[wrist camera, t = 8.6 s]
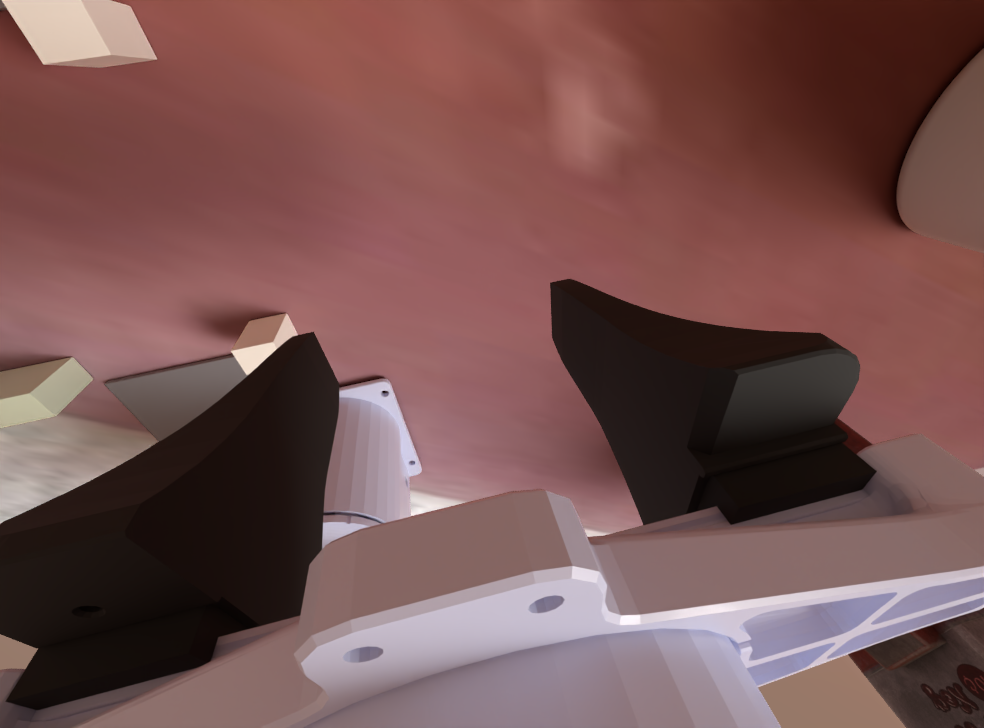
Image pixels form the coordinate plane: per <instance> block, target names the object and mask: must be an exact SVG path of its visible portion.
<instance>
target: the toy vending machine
mask: <svg viewBox="0 0 984 728" xmlns="http://www.w3.org/2000/svg"><path fill="white" fill-rule="evenodd" d="M834 423H835V424H836V425H838V426H839V427H840V428H841V429H843V430H844V431H845V432H846V433H847V435H848V439H847V440H846V441H845V442H842V443H843V444H845V445H846V446H847V447H848V448H849V449H851V450H852V451H853V452H854V453H855V454H857V453H858V452H859V451H861V450H863V449H864V448H866V447H868V446H870V445H873V444H871V443H870V442H869V441H867V440H866V439H865V438H863V437H862V436H861V435H859V434H858V433H857V432H855V431H854V430H853V429H851V428H850V427H849V426H847V425H846V424H845V423H843V422H842V421H841V420H840V419H838V418H837V419H836V421H835V422H834ZM848 655H849V656H850V658H851V659H852V660H853V661H854V663H855V664H856V665H857V666H858V668H859V669H860V670H861V671H862V673H863V674H864V675H865V676H866V678H867V679H868V680H869V681H870V683H871V684H872V685H873V686H874V688H875V689H876V690H877V692H878V693H879V694H880V695H881V697H882V698H883V699H884V700H885V702H886V703H887V704H888V705H889V707H890V708H891V709H892V710H893V712H895V714H896V715H897V717H898V718H899V719H900V720H901V721H902V723H903V724H904V725H905V727H906V728H984V608H982V609H980V610H977V611H974V612H971V613H968V614H964V615H961V616H958V617H955V618H952V619H949V620H945V621H942V622H939V623H936V624H933V625H930V626H927V627H924V628H921V629H918V630H915V631H912V632H909V633H906V634H903V635H900V636H897V637H894V638H891V639H889V640H886V641H883V642H880V643H877V644H875V645H872V646H869V647H866V648H863V649H861V650H858V651H855V652H852V653H850V654H848Z"/></svg>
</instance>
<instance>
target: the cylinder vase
mask: <svg viewBox="0 0 984 728" xmlns="http://www.w3.org/2000/svg"><path fill="white" fill-rule="evenodd" d="M897 207H898V211H899V214H900V217H901V219H902V221H903V222H904V223H905V225H906V226H907V227H908V228H909V229H911V230H912V231H913V232H915V233H917V234H919V235H922V236H925V237H929V238H932V239H936V240H939V241H942V242H946V243H949V244H953V245H956V246H960V247H963V248H967V249H970V250H974V251H977V252H981V253H984V48H983V49H982V50H981V51H980V52H979V53H978V54H977V55H976V56H975V57H974V58H973V59H972V60H971V61H970V62H969V63H968V64H967V65H966V66H965V67H964V68H963V69H962V70H961V72H960V73H959V74H958V75H957V76H956V77H955V78H954V80H953V81H952V82H951V83H950V84H949V86H948V87H947V88H946V89H945V91H944V92H943V93H942V95H941V96H940V97H939V99H938V100H937V101H936V103H935V104H934V106H933V107H932V109H931V110H930V112H929V113H928V115H927V116H926V118H925V119H924V121H923V123H922V124H921V126H920V128H919V129H918V131H917V133H916V135H915V137H914V139H913V141H912V143H911V145H910V147H909V149H908V152H907V154H906V156H905V159H904V162H903V165H902V168H901V171H900V175H899V179H898V185H897Z"/></svg>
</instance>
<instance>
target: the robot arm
mask: <svg viewBox="0 0 984 728" xmlns="http://www.w3.org/2000/svg"><path fill="white" fill-rule="evenodd" d="M550 288H551V316H552V338H553V341H554V343H555V346H556V348H557V351H558V353H559V355H560V357H561V360H562V362H563V364H564V365H565V367H566V369H567V370H568V372H569V373H570V375H571V377H572V378H573V380H574V382H575V383H576V385H577V386H578V388H579V390H580V391H581V393H582V394H583V396H584V398H585V399H586V401H587V402H588V404H589V406H590V407H591V409H592V411H593V412H594V414H595V416H596V418H597V419H598V421H599V423H600V425H601V427H602V429H603V431H604V433H605V436H606V438H607V440H608V442H609V444H610V446H611V448H612V451H613V453H614V455H615V457H616V460H617V462H618V464H619V466H620V469H621V471H622V473H623V475H624V478H625V480H626V483H627V485H628V487H629V490H630V492H631V495H632V497H633V500H634V502H635V504H636V507H637V509H638V512H639V514H640V517H641V520H642V522H643V526H639V527H635V528H632V529H628V530H624V531H620V532H616V533H613V534H609V535H605V536H594V537H587V535H586V533H585V530H584V528H583V525H582V523H581V521H580V518H579V516H578V513H577V512H576V510H575V508H574V506H573V504H572V502H571V500H570V499H569V498H566V497H563V496H561V495H558V494H555V493H552V492H549V491H546V490H542V489H535V490H523V491H512V492H507V493H503V494H499V495H495V496H491V497H487V498H483V499H479V500H475V501H471V502H467V503H463V504H459V505H455V506H451V507H447V508H443V509H439V510H435V511H431V512H427V513H423V514H419V515H415V516H411V509H410V483H409V477H410V476H414V475H418V474H420V473H421V471H422V468H421V464H420V461H419V459H418V456H417V453H416V450H415V448H414V445H413V442H412V440H411V437H410V434H409V432H408V429H407V426H406V424H405V421H404V418H403V415H402V413H401V410H400V407H399V405H398V402H397V399H396V397H395V394H394V391H393V388H392V386H391V383H390V382H389V380H387V379H384V378H382V379H377V380H372V381H368V382H363V383H359V384H354V385H350V386H345V387H341V388H339V383H338V381H337V379H336V377H335V375H334V372H333V370H332V368H331V366H330V364H329V362H328V360H327V358H326V356H325V354H324V352H323V350H322V348H321V346H320V344H319V342H318V340H317V338H316V336H315V334H314V332H311V333H306V334H302V335H297V336H292V337H291V338H290V339H288V340H287V341H286V342H284V343H283V344H282V345H281V346H280V347H279V348H277V349H276V350H275V351H274V352H273V353H272V354H271V355H270V356H269V357H268V358H266V359H265V360H264V361H263V362H262V363H261V364H260V365H259V366H258V367H257V368H256V369H254V370H253V371H252V372H251V373H250V374H249V375H248V376H247V377H246V378H244V379H243V380H242V381H241V382H240V383H239V384H237V385H236V386H235V387H234V388H233V389H232V390H230V391H229V392H228V393H227V394H226V395H224V396H223V397H222V398H221V399H220V400H218V401H217V402H216V403H215V404H213V405H212V406H211V407H210V408H208V409H207V410H206V411H204V412H203V413H202V414H200V415H199V416H197V417H196V418H195V419H193V420H192V421H190V422H189V423H187V424H186V425H185V426H183V427H182V428H180V429H179V430H177V431H176V432H174V433H173V434H171V435H169V436H168V437H166V438H164V439H163V440H161V441H160V442H158V443H156V444H155V445H153V446H152V447H150V448H148V449H147V450H145V451H144V452H142V453H140V454H139V455H137V456H135V457H133V458H132V459H130V460H128V461H126V462H125V463H123V464H121V465H119V466H117V467H116V468H114V469H112V470H110V471H108V472H106V473H104V474H102V475H101V476H99V477H97V478H95V479H93V480H91V481H89V482H87V483H85V484H83V485H81V486H79V487H77V488H75V489H73V490H71V491H69V492H67V493H65V494H63V495H61V496H58V497H56V498H54V499H52V500H50V501H48V502H46V503H44V504H41V505H39V506H37V507H35V508H33V509H31V510H29V511H26V512H24V513H22V514H20V515H18V516H16V517H13V518H11V519H9V520H6V521H4V522H3V523H1V524H0V634H1V635H4V636H6V637H9V638H12V639H14V640H17V641H19V642H22V643H24V644H27V645H30V646H32V647H35V648H38V650H37V652H36V653H35V655H34V656H33V658H32V660H31V661H30V663H29V664H28V666H27V668H26V669H4V670H0V728H781V726H780V724H779V723H778V721H777V719H776V718H775V716H774V714H773V713H772V711H771V709H770V708H769V706H768V704H767V702H766V701H765V699H764V697H763V696H762V694H761V692H760V691H759V689H758V687H760V686H762V685H765V684H768V683H771V682H773V681H776V680H779V679H781V678H784V677H787V676H789V675H792V674H795V673H798V672H801V671H803V670H806V669H808V668H811V667H814V666H817V665H819V664H822V663H825V662H828V661H831V660H833V659H836V658H839V657H841V656H844V655H847V654H850V653H852V652H855V651H858V650H861V649H863V648H866V647H869V646H872V645H875V644H877V643H880V642H883V641H886V640H889V639H891V638H894V637H897V636H900V635H903V634H906V633H909V632H912V631H915V630H918V629H921V628H924V627H927V626H930V625H933V624H936V623H939V622H942V621H945V620H949V619H952V618H955V617H958V616H961V615H964V614H968V613H971V612H974V611H977V610H980V609H982V608H984V477H983V476H982V475H980V474H979V473H978V472H976V471H975V470H973V469H972V468H970V467H969V466H967V465H966V464H964V463H963V462H962V461H960V460H959V459H957V458H956V457H954V456H953V455H951V454H950V453H948V452H947V451H946V450H944V449H943V448H941V447H940V446H938V445H937V444H935V443H934V442H932V441H931V440H930V439H928V438H927V437H925V436H924V435H922V434H911V435H907V436H903V437H899V438H896V439H892V440H888V441H884V442H880V443H876V444H873V445H870V446H868V447H866V448H864V449H863V450H861V451H859V452H858V453H857V454H855V453H854V452H853V451H852V450H851V449H849V448H848V447H847V446H846V445H845V444H843V443H842V442H845V441H846V440H847V439H848V435H847V433H846V432H845V431H844V430H843V429H841V428H840V427H839V426H838V425H836V424H835V423H834V422H835V421H836V419H837V417H838V416H839V414H840V412H841V411H842V409H843V407H844V406H845V404H846V402H847V401H848V399H849V397H850V396H851V394H852V393H853V391H854V388H855V386H856V384H857V382H858V380H859V372H860V364H859V361H858V359H857V356H855V355H854V354H853V353H851V352H850V351H848V350H847V349H845V348H844V347H842V346H840V345H839V344H837V343H836V342H834V341H833V340H831V339H829V338H828V337H826V336H825V335H823V334H821V333H804V332H779V331H761V330H751V329H741V328H732V327H725V326H718V325H712V324H706V323H701V322H695V321H690V320H685V319H681V318H677V317H673V316H669V315H665V314H661V313H658V312H655V311H651V310H648V309H645V308H642V307H639V306H637V305H634V304H631V303H628V302H626V301H623V300H620V299H618V298H615V297H613V296H611V295H608V294H606V293H604V292H601V291H599V290H597V289H594V288H592V287H590V286H587V285H585V284H583V283H580V282H578V281H575V280H572V279H566V280H561V281H556V282H552V283H550ZM382 391H388V392H387V393H382Z"/></svg>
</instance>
